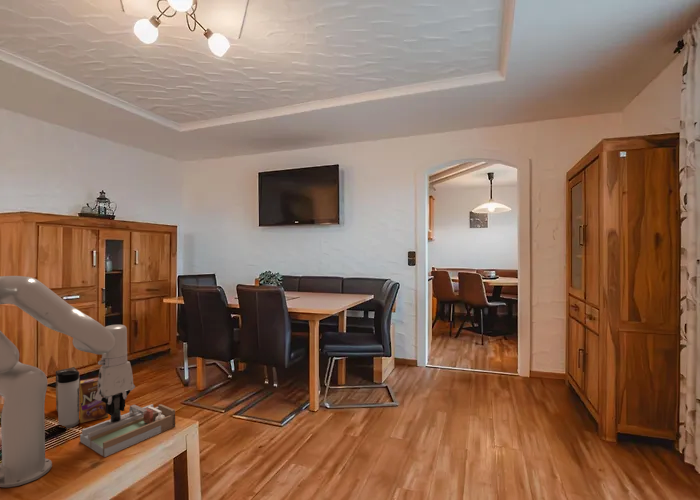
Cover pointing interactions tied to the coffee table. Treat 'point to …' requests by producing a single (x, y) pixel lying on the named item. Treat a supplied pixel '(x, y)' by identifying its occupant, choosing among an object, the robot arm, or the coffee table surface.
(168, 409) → the pitch board
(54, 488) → the coffee table surface
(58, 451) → the coffee table surface
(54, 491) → the coffee table surface
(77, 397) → the travel mug
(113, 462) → the coffee table surface
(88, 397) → the candy box
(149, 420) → the kicker rod
